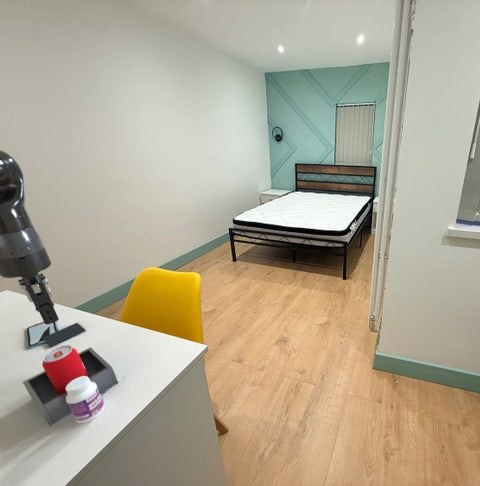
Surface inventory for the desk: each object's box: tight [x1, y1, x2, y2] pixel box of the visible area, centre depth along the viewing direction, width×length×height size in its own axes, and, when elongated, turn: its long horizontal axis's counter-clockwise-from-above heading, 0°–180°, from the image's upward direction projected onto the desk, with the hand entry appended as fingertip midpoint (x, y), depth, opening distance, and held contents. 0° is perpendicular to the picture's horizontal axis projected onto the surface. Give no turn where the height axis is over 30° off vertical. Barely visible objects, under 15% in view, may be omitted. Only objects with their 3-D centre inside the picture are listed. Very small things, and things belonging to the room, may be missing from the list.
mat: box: [43, 322, 87, 348], centre depth 87 cm, size 9×7×1 cm
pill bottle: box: [66, 376, 106, 424], centre depth 61 cm, size 5×5×10 cm
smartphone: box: [25, 321, 59, 350], centre depth 89 cm, size 7×1×15 cm
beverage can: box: [41, 344, 90, 396], centre depth 66 cm, size 6×6×12 cm
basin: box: [22, 347, 119, 427], centre depth 67 cm, size 14×14×6 cm
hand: (49, 314), depth 60 cm, fingers open, 8 cm apart
